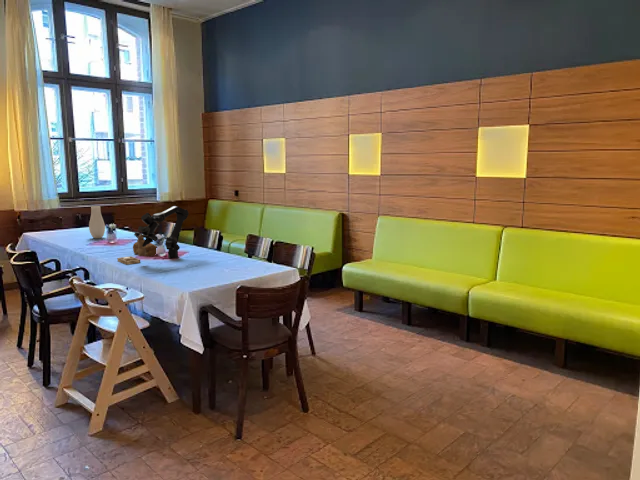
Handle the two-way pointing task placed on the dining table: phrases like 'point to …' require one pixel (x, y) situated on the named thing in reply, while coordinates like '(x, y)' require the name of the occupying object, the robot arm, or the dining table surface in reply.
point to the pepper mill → (140, 248)
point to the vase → (96, 223)
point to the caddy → (128, 260)
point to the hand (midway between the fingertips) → (139, 246)
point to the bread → (149, 249)
